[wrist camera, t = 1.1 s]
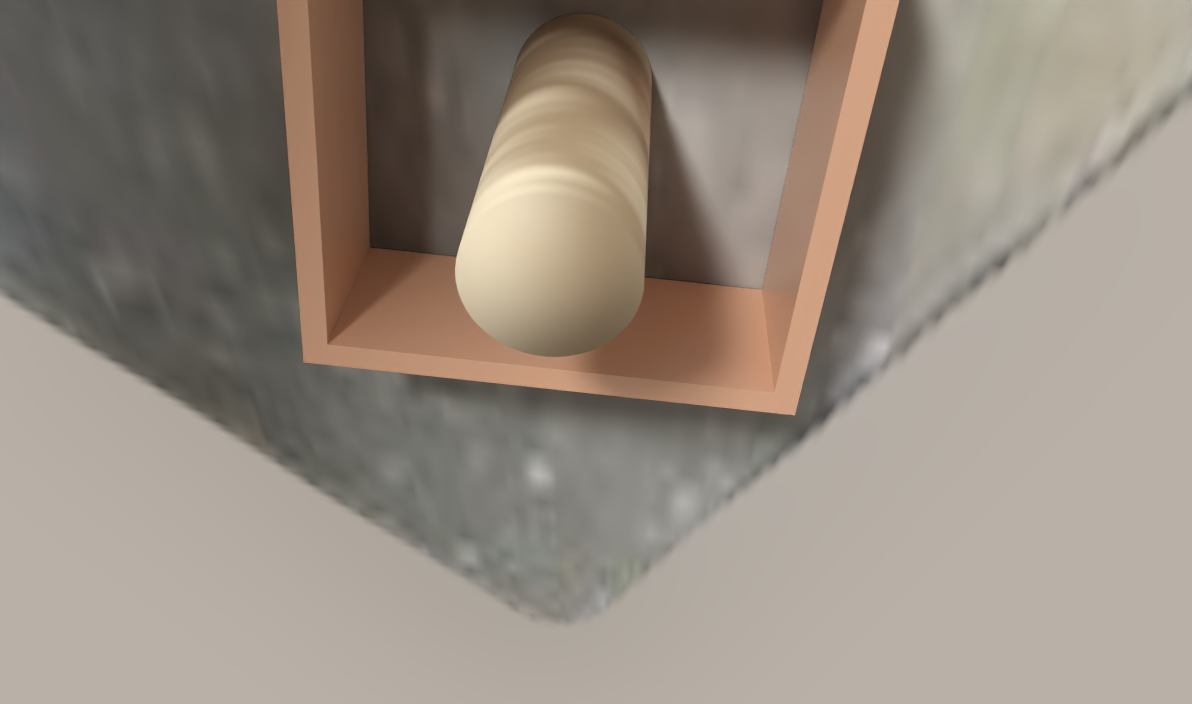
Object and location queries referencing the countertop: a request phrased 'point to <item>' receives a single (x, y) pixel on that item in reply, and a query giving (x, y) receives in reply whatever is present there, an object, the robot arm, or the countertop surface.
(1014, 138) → the countertop surface
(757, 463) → the countertop surface
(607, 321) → the dowel pin
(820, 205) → the peach storage bin
